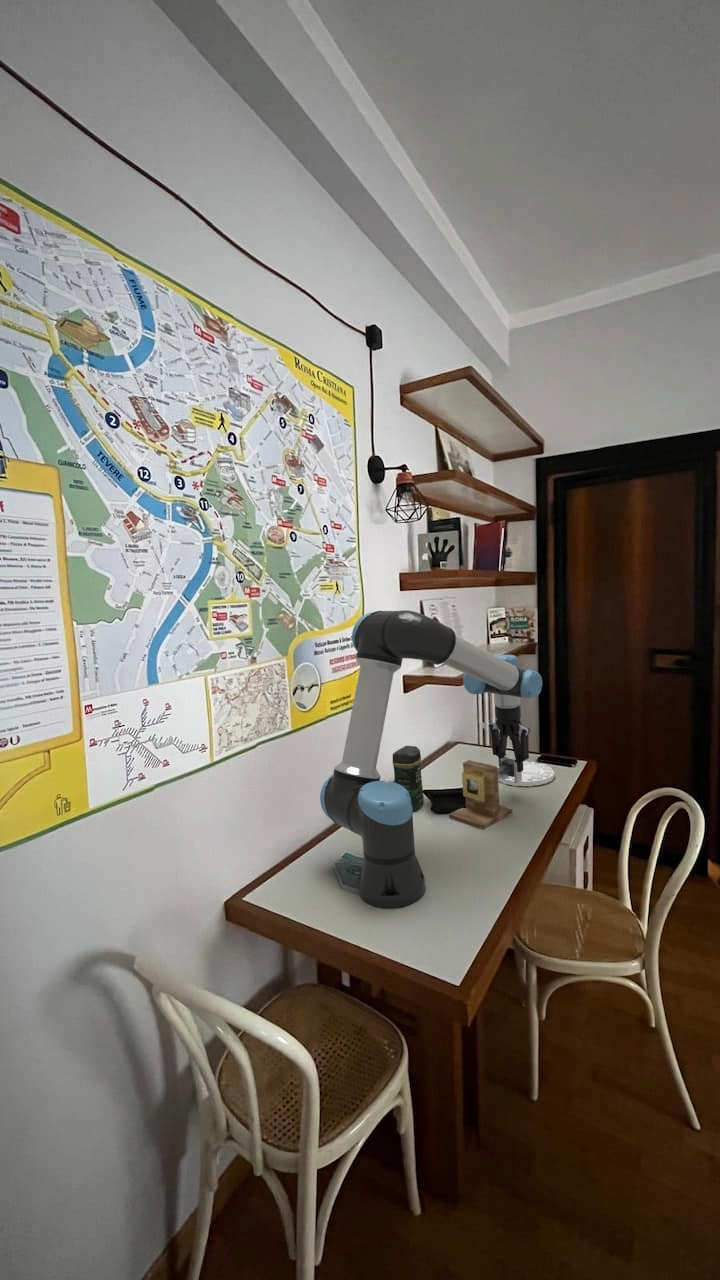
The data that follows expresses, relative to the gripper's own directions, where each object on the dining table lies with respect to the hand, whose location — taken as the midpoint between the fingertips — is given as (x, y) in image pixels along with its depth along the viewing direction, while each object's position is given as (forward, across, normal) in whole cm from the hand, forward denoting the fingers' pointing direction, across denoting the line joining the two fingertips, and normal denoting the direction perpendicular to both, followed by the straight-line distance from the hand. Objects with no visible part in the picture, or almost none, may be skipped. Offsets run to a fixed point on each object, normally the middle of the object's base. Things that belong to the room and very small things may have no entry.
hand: (511, 779), depth 167 cm
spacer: (-3, 0, +18) cm, 18 cm away
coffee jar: (+6, +21, +24) cm, 32 cm away
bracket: (+6, 0, +15) cm, 16 cm away
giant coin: (+7, +8, -18) cm, 21 cm away
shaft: (-2, 0, +9) cm, 9 cm away
